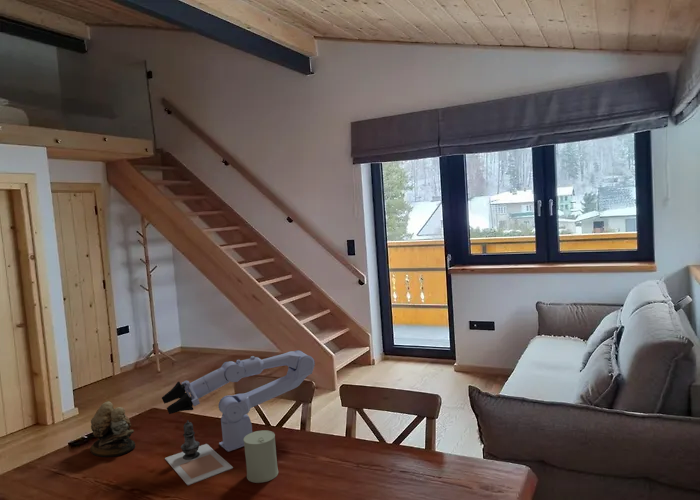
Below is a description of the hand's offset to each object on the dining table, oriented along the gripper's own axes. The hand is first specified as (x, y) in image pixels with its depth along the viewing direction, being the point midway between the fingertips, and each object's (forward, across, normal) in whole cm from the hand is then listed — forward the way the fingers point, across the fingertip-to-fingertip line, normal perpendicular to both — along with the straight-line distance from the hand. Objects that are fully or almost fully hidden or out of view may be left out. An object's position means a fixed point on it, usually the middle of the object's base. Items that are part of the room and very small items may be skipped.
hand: (165, 405), depth 162 cm
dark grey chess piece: (-1, +3, +19) cm, 19 cm away
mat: (-2, +9, +19) cm, 21 cm away
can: (-16, +28, +20) cm, 38 cm away
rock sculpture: (+20, -21, +17) cm, 33 cm away
